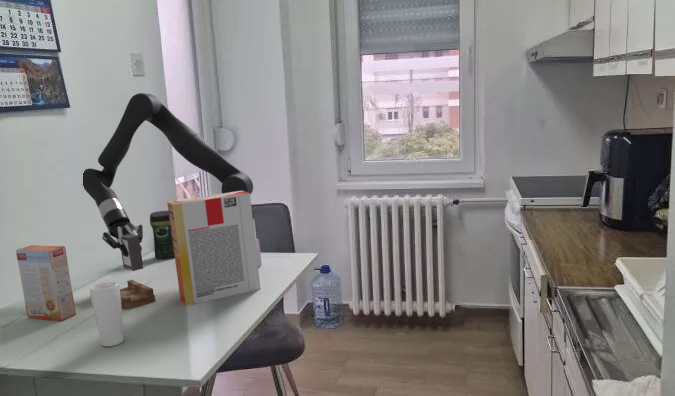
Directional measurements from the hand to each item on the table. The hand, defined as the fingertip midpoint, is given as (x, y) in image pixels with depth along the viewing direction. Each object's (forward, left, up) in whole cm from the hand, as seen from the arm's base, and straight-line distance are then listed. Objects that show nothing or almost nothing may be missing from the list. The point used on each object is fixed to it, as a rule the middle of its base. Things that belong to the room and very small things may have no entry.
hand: (133, 253), depth 191 cm
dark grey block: (+2, -1, -5) cm, 5 cm away
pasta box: (-33, +4, -12) cm, 35 cm away
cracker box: (+10, +27, -12) cm, 31 cm away
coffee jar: (+14, -37, -12) cm, 41 cm away
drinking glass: (-24, +42, -12) cm, 50 cm away
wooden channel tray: (-6, +12, -11) cm, 18 cm away
